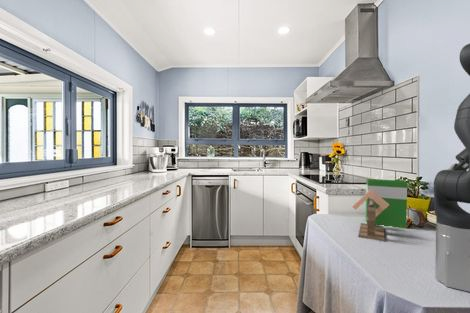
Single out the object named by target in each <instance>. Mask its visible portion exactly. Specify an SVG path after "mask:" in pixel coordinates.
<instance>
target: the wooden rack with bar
mask: <svg viewBox="0 0 470 313" xmlns="http://www.w3.org/2000/svg"><path fill="white" fill-rule="evenodd" d="M375 216H376V202H375V201H373V200H372V199H371V198H369V204H368V224H367V223H364V222H360V225H359V230H358V236H357V237H358V238H361V239H369V240H374V241H379V242H385V231H384V226H380V225H375Z"/></svg>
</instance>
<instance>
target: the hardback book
mask: <svg viewBox="0 0 470 313" xmlns="http://www.w3.org/2000/svg"><path fill="white" fill-rule="evenodd" d="M365 183H366V186H365V189H366V190H365V191H366V192H365V194H366V193H367V192H368V191H369V190H370V189H371V190H372V191H374V192H375V193H376V194H377V195H378V196H380V197H381V198H382V199H383V200H385V201H386V202H387V203H388V204H389V206H388V207H387V208H386V209H384V210H383V211H382V212H381V213H380V214H379V215H377V216H376V217H375V225H378V226H380V225H384V226H383V227H388V226H392V227H391V228H397V227H398V228H399V229H404V230H405V229H407V219H406V216H407V208H408V205H407V204H408V203H407V202H408V181H404V180H396V179H395V180H394V179H393V180H392V179H379V178H377V179H376V178H373V179H372V178H366V182H365ZM369 198H370V197H369ZM369 198H368V199H367V200H366V201H365V222H367V223H366V224H368V220H367V219H366V218H367V217H368V204H369ZM378 207H379V205H378V204H377V203H376V209H377V208H378ZM398 228H397V229H398Z"/></svg>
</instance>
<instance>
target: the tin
mask: <svg viewBox="0 0 470 313" xmlns="http://www.w3.org/2000/svg"><path fill="white" fill-rule="evenodd" d="M407 209H409V218H411V219H412V220H413V222H412V223H411V225H414V226H416V227H424V226H425V225H426V216H425V214H424V213H423V211H421V210H420V209H418V208H414V207H407Z"/></svg>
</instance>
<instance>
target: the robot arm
mask: <svg viewBox="0 0 470 313" xmlns="http://www.w3.org/2000/svg"><path fill="white" fill-rule="evenodd" d="M459 52H460V53H459V63H460V65H461V67H462V69H463V70H464V72H465V73H466V74H467V75H468V76H469V77H470V43H468V44H465V45H464V46H463V47H462V48H461V50H460V51H459ZM453 124H454V125H453V127H454V132H455V134H456V136H457V138H458V139H459V140H460V142H461V143H462V145H463V146H464V149H463V150H461V151H460V152H459V153H457V154H456V155H455V159H456V161H458V163H457V162H456V163H453V164H452V165H451V166H450V167H449V168H447V169H443V170H439V171H438V172H437V173H436V174H435V177H434V180H433V200H434V201H433V202H434V204H433V205H434V206H433V207H434V215H435V216H436V220H435V221H436V224H435V226H436V227H435V255H434V257H435V261H434V262H435V266H434V269H435V270H434V277H435V279H436V280H437V282H438V281H439V283H442V284H443V285H444V287H447V288H452V289H456V290H460V291H464V292H469V293H470V213H469V212H468V211H466V210H465V209H463V208H462V207H461V206H460V205H459V204H458V203H461V204H462V203H465V204H469V205H470V93H469V94H468V95H467V96H465V98H464V99H463V100H462V101H461V102H460V104H459V105H458V108H457V110H456V115H455V118H454V123H453Z"/></svg>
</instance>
